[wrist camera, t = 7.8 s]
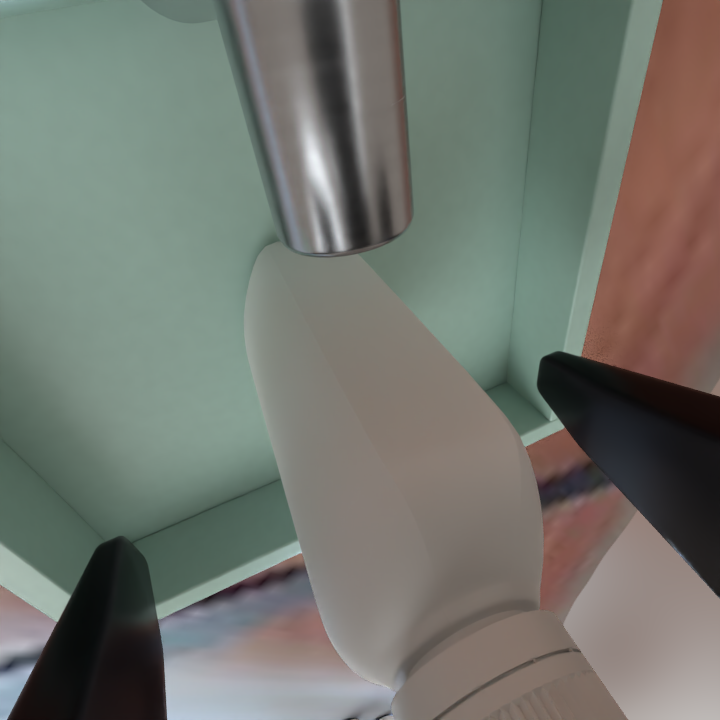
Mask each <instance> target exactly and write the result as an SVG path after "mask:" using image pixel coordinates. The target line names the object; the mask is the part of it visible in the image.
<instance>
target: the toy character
mask: <svg viewBox="0 0 720 720" xmlns="http://www.w3.org/2000/svg"><path fill="white" fill-rule="evenodd" d="M351 720H358V719H351ZM379 720H395V719H394V717H393V716H390V715H388V716H385V717H383V718H381V719H379Z"/></svg>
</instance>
